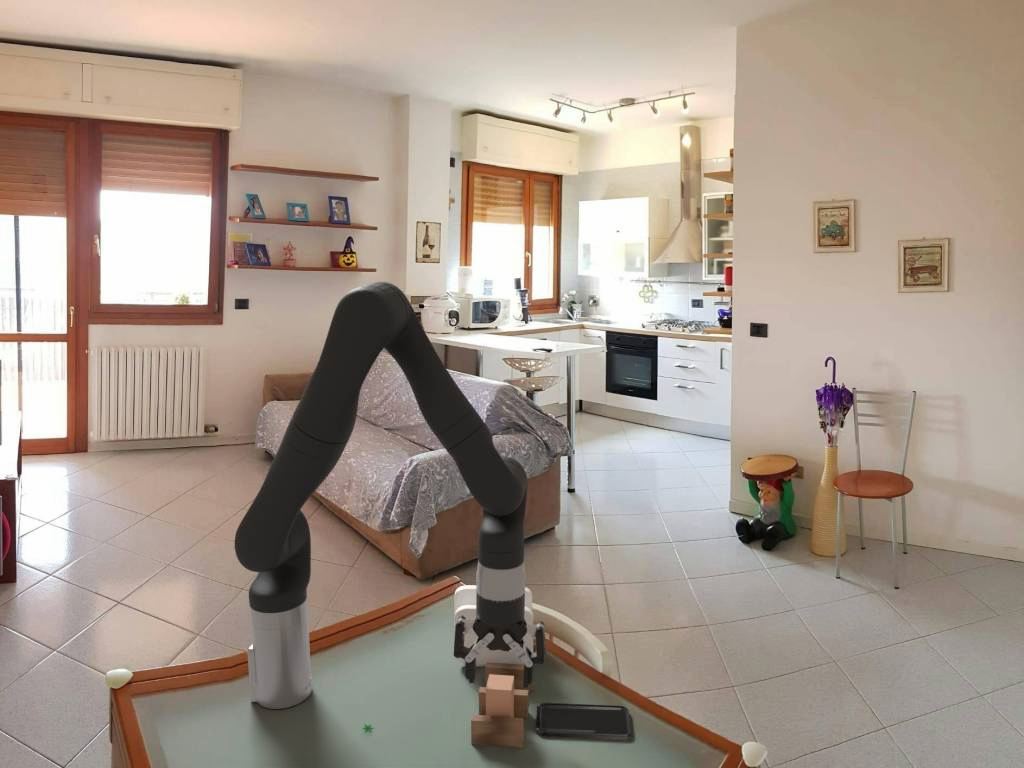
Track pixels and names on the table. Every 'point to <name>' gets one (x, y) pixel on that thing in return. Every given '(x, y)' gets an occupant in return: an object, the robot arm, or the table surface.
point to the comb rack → (502, 728)
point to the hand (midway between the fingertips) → (499, 682)
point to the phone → (583, 721)
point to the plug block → (500, 696)
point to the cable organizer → (467, 608)
